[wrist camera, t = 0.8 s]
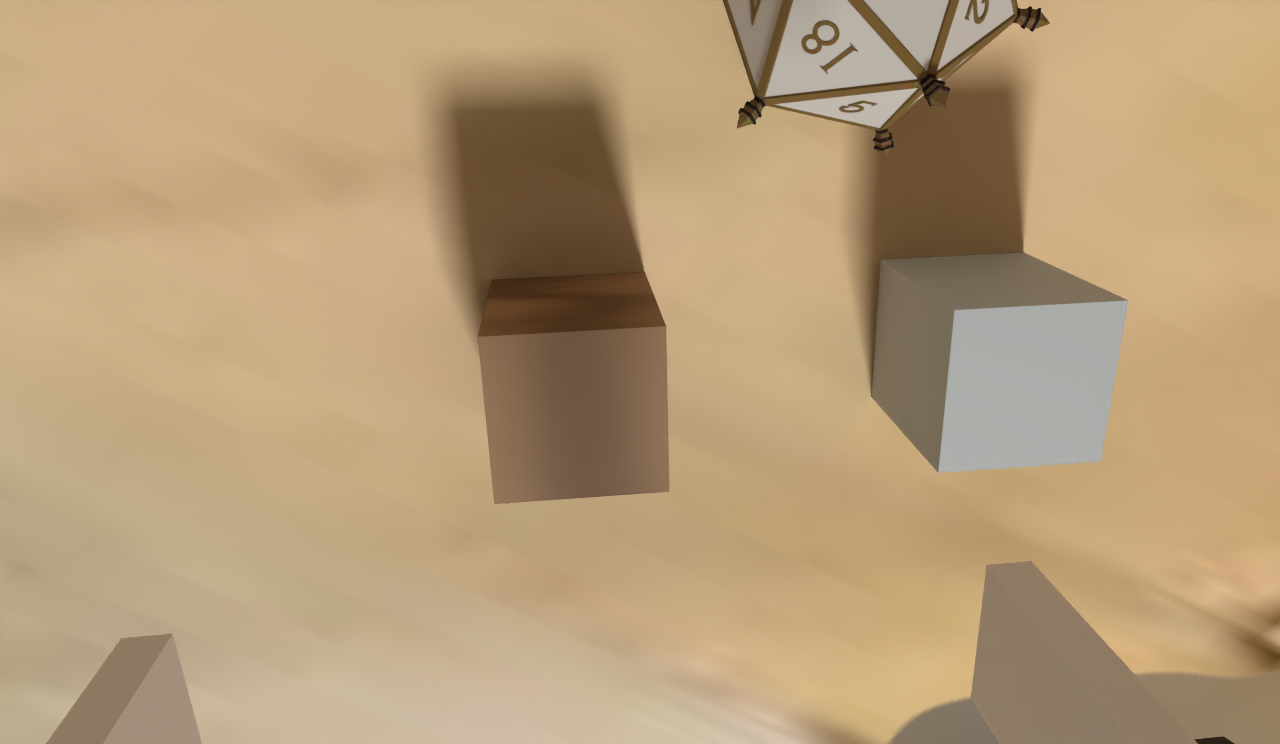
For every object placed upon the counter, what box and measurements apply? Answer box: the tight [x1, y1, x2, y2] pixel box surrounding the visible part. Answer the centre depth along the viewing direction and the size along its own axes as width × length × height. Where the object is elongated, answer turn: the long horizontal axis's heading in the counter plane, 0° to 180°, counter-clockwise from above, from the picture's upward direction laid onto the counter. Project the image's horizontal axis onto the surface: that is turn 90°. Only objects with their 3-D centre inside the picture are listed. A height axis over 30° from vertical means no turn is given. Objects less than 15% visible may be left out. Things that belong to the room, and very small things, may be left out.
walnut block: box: [478, 272, 669, 504], centre depth 27 cm, size 5×5×6 cm
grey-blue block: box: [871, 252, 1128, 473], centre depth 28 cm, size 5×5×6 cm
